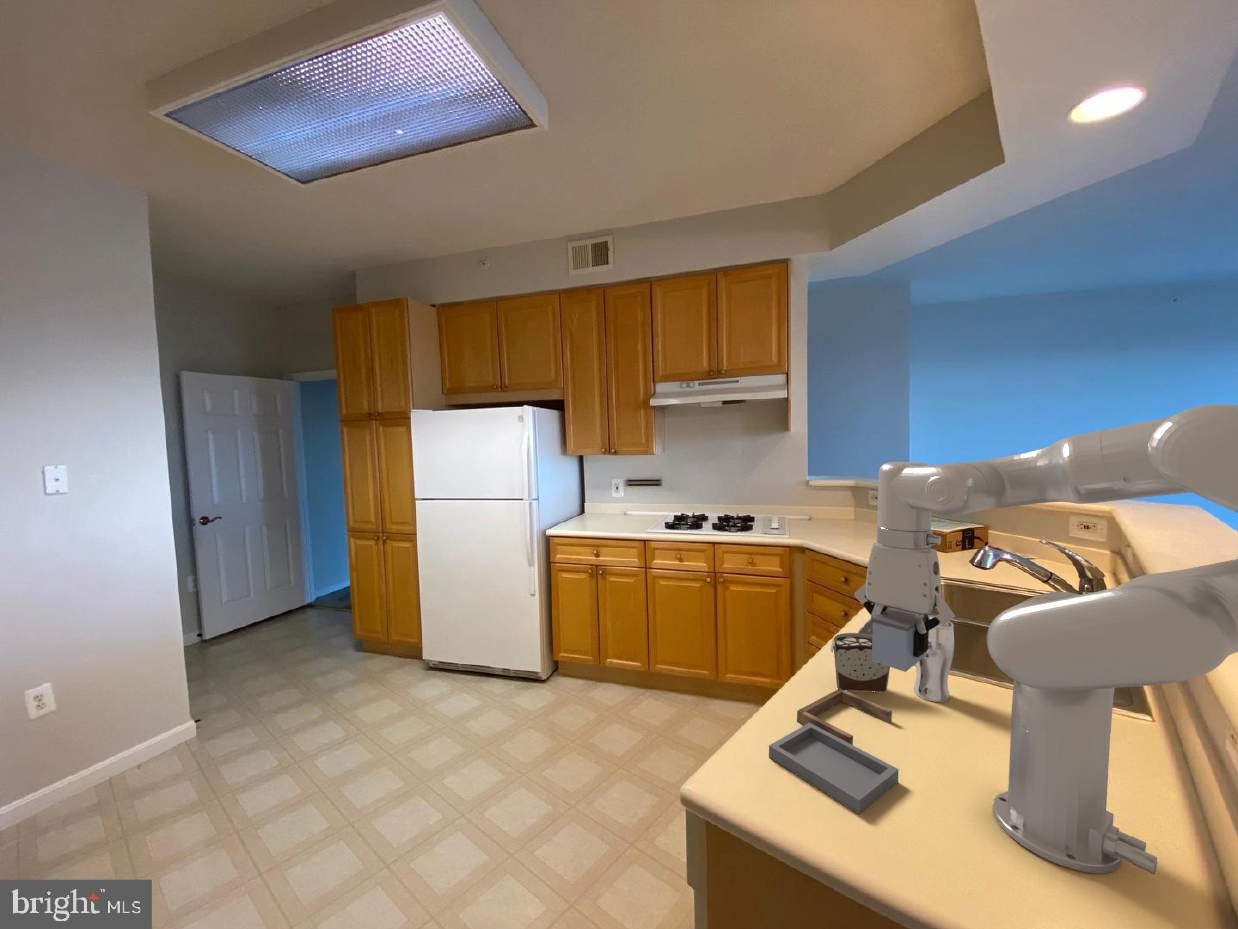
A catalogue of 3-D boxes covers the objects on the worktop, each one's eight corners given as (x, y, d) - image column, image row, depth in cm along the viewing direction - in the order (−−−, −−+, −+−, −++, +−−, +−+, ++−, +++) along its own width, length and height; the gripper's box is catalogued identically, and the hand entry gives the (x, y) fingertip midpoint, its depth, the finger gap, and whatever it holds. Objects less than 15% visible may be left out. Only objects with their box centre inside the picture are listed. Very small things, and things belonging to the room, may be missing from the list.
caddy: (927, 655, 82) (929, 613, 82) (905, 672, 76) (907, 627, 76) (894, 645, 86) (895, 605, 86) (870, 660, 80) (872, 618, 80)
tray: (898, 782, 75) (898, 769, 75) (858, 814, 68) (859, 800, 68) (809, 733, 87) (809, 722, 87) (768, 757, 81) (769, 745, 80)
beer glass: (960, 704, 96) (963, 628, 95) (924, 704, 96) (926, 628, 96) (937, 686, 103) (940, 615, 102) (904, 686, 103) (906, 615, 103)
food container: (881, 678, 107) (882, 632, 106) (894, 693, 101) (895, 644, 100) (821, 676, 108) (822, 630, 107) (830, 690, 102) (832, 642, 101)
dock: (891, 721, 91) (891, 710, 91) (849, 749, 83) (849, 737, 82) (839, 698, 99) (840, 688, 99) (796, 721, 91) (797, 710, 91)
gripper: (973, 544, 76) (968, 660, 77) (860, 528, 89) (857, 628, 90) (957, 551, 71) (952, 675, 72) (840, 533, 84) (837, 639, 85)
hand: (899, 647), depth 81 cm, fingers closed on caddy, 5 cm apart
